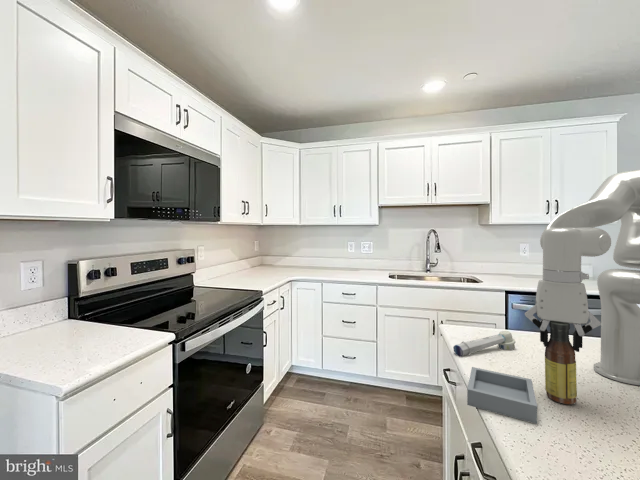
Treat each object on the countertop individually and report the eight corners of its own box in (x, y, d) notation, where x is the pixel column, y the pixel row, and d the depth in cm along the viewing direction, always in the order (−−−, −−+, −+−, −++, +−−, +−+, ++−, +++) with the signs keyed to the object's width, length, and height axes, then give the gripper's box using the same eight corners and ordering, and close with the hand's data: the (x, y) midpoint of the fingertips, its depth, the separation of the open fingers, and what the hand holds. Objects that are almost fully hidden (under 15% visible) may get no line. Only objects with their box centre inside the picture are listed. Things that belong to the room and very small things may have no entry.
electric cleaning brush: (451, 342, 104) (505, 325, 111) (453, 360, 105) (506, 342, 112) (462, 347, 99) (517, 330, 106) (464, 366, 100) (519, 347, 106)
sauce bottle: (569, 394, 77) (571, 319, 76) (581, 408, 71) (584, 327, 70) (539, 390, 79) (541, 317, 78) (549, 403, 73) (551, 324, 72)
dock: (531, 394, 77) (531, 379, 77) (537, 424, 65) (537, 406, 65) (471, 380, 84) (471, 366, 84) (467, 405, 73) (467, 389, 72)
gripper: (602, 277, 73) (601, 349, 73) (519, 272, 82) (518, 336, 82) (612, 281, 66) (611, 360, 67) (521, 276, 75) (520, 345, 76)
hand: (560, 346), depth 74 cm, fingers closed on sauce bottle, 5 cm apart
